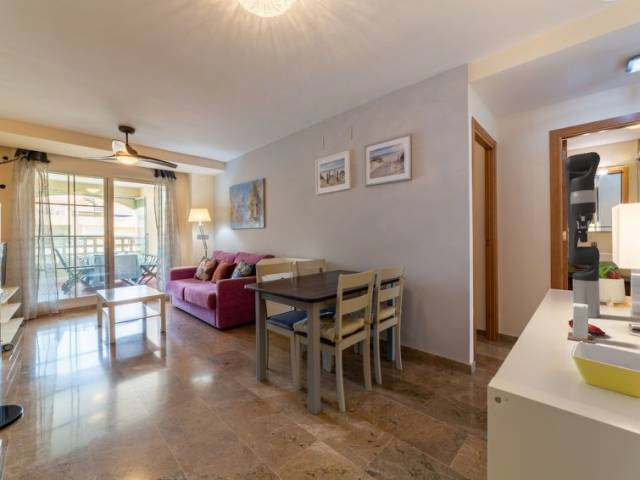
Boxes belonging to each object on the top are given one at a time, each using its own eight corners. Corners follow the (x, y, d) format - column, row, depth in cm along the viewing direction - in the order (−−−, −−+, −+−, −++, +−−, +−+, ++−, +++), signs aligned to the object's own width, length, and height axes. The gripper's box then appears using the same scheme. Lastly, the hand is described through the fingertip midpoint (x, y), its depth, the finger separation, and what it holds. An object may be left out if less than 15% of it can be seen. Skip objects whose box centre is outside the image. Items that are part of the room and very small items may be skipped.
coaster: (568, 333, 112) (568, 331, 112) (593, 337, 107) (593, 335, 107) (567, 339, 105) (567, 337, 105) (593, 344, 101) (593, 342, 101)
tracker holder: (609, 331, 110) (603, 328, 105) (604, 341, 110) (599, 339, 105) (570, 317, 120) (563, 314, 115) (566, 327, 120) (559, 324, 115)
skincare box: (573, 333, 110) (572, 302, 110) (589, 335, 107) (588, 304, 107) (572, 337, 106) (571, 305, 106) (589, 340, 102) (588, 307, 102)
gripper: (596, 200, 107) (597, 242, 107) (595, 202, 117) (596, 241, 117) (569, 202, 112) (570, 242, 112) (571, 204, 123) (572, 241, 123)
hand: (583, 242), depth 115 cm, fingers open, 8 cm apart
